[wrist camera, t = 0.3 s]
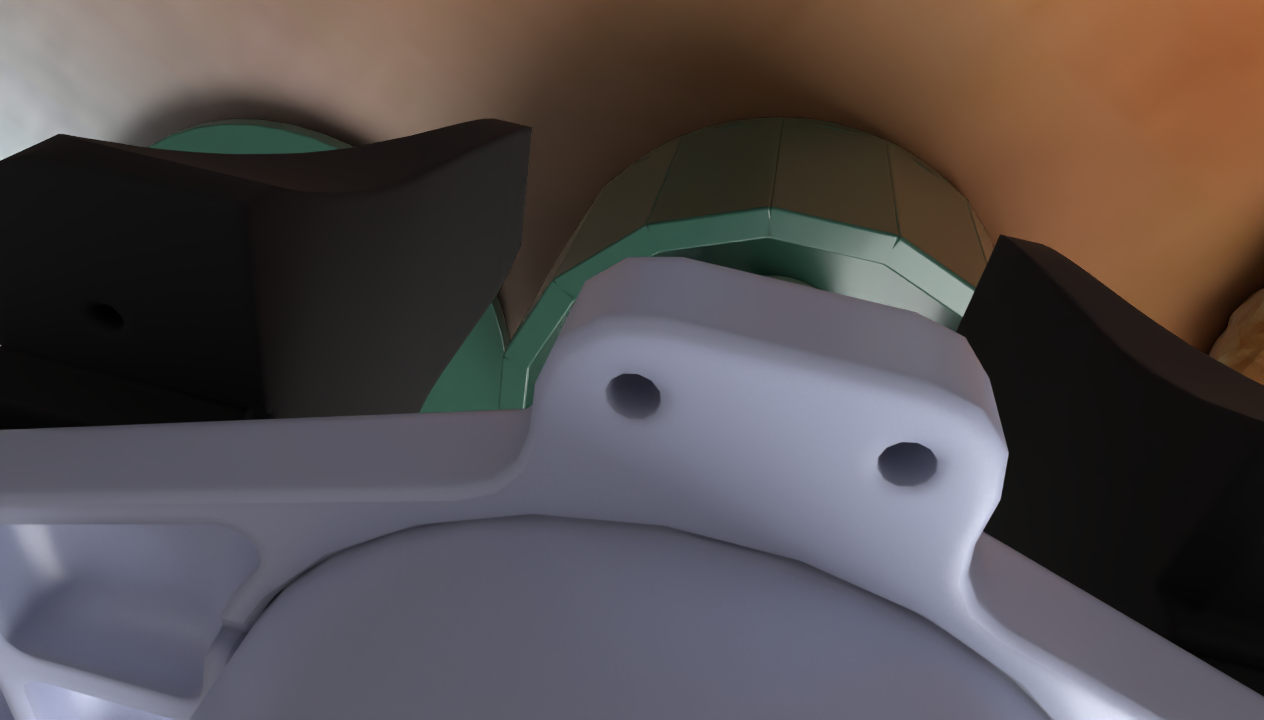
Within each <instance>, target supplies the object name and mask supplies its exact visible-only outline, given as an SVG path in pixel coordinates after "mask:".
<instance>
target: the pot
mask: <svg viewBox="0 0 1264 720" xmlns="http://www.w3.org/2000/svg"><path fill="white" fill-rule="evenodd" d="M993 249H994V246H993V244H992V241H991V239H990V237H989V235H988V233H987V230H986V229H985V227H984V226H983V224H982V223H981V221H980V220H979V218H978V216H977V215H976V213H975V212H974V210H973V208H972V206H971V204H970V202H969V201H968V199H966V198H965V197H964V196H963V195H962V194H960V193H959V192H958V191H957V190H956V189H955V188H954V187H953V186H952V185H951V183H950V182H948V181H947V180H946V179H945V178H944V177H942V176H941V175H940V174H939V173H938V172H936V171H935V170H934V169H933V168H931V167H930V166H929V165H928V164H927V163H925V162H924V161H922V160H921V159H919V158H917V157H916V156H914V155H912V154H911V153H909V152H907V151H906V150H904V149H903V148H901V147H899V146H898V145H895V144H893V143H891V142H889V141H886V140H884V139H882V138H879V137H877V136H875V135H873V134H870V133H868V132H865V131H862V130H858V129H855V128H851V127H848V126H844V125H841V124H837V123H833V122H826V121H820V120H813V119H806V118H793V117H762V118H753V119H743V120H734V121H730V122H726V123H721V124H717V125H713V126H709V127H705V128H701V129H699V130H696V131H693V132H691V133H688V134H686V135H683V136H680V137H678V138H675V139H673V140H671V141H669V142H667V143H665V144H663V145H662V146H660V147H658V148H656V149H654V150H652V151H651V152H649V153H647V154H645V155H644V156H643V157H641V158H640V159H639V160H637V161H636V162H634V163H633V164H632V165H630V166H629V167H628V168H626V169H625V170H624V171H622V172H621V173H620V174H619V175H618V176H617V177H616V178H615V179H613V180H611V181H610V182H608V183H607V184H606V185H605V186H604V187H603V188H602V190H601V191H600V193H599V194H598V196H597V198H596V199H595V201H594V202H593V204H592V205H591V207H590V208H589V209H588V211H587V212H586V214H585V215H584V217H583V219H582V221H581V222H580V224H579V225H578V227H577V228H576V230H575V232H574V233H573V235H572V236H571V238H570V239H569V241H568V242H567V244H566V245H565V247H564V248H563V250H562V252H561V253H560V255H559V257H558V259H557V260H556V262H555V264H554V266H553V267H552V269H551V271H550V273H549V274H548V276H547V278H546V280H545V281H544V283H543V285H542V287H541V288H540V290H539V292H538V294H537V296H536V297H535V299H534V301H533V303H532V304H531V306H530V308H529V310H528V311H527V313H526V315H525V317H524V318H523V320H522V322H521V324H520V325H519V327H518V329H517V331H516V332H515V334H514V336H513V338H512V339H511V341H510V343H509V345H508V346H507V348H506V350H505V352H504V355H503V357H502V369H501V381H500V394H499V406H498V410H505V409H526V408H528V407H530V406H532V404H533V396H534V388H535V383H536V380H537V378H538V376H539V374H540V372H541V370H542V368H543V366H544V364H545V362H546V360H547V358H548V356H549V354H550V352H551V350H552V348H553V346H554V344H555V341H556V339H557V337H558V335H559V333H560V331H561V329H562V327H563V325H564V323H565V321H566V319H567V317H568V315H569V313H570V311H571V309H572V307H573V305H574V303H575V301H576V299H577V297H578V295H579V293H580V291H581V289H582V287H583V285H584V282H585V281H587V280H588V279H590V278H592V277H594V276H595V275H597V274H599V273H601V272H602V271H604V270H606V269H608V268H609V267H611V266H613V265H615V264H616V263H618V262H620V261H622V260H623V259H625V258H627V257H685V258H689V259H693V260H698V261H702V262H706V263H710V264H715V265H719V266H723V267H727V268H731V269H736V270H740V271H744V272H748V273H753V274H757V275H761V276H763V275H777V276H785V277H790V278H794V279H797V280H800V281H803V282H805V283H807V284H809V285H811V286H813V287H815V288H816V289H820V290H824V291H829V292H833V293H837V294H841V295H846V296H850V297H854V298H858V299H863V300H867V301H871V302H875V303H879V304H884V305H888V306H892V307H896V308H901V309H905V310H909V311H913V312H917V313H919V314H921V315H923V316H925V317H927V318H929V319H931V320H932V321H934V322H936V323H938V324H940V325H942V326H944V327H946V328H948V329H950V330H952V331H954V332H956V331H957V329H958V326H959V324H960V322H961V320H962V318H963V315H964V313H965V311H966V309H967V307H968V304H969V302H970V300H971V298H972V296H973V293H974V291H975V289H976V287H977V285H978V282H979V280H980V278H981V276H982V274H983V271H984V269H985V267H986V265H987V263H988V260H989V258H990V256H991V254H992V252H993Z"/></svg>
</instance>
